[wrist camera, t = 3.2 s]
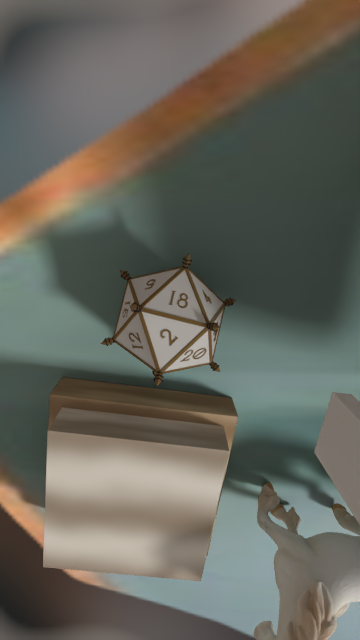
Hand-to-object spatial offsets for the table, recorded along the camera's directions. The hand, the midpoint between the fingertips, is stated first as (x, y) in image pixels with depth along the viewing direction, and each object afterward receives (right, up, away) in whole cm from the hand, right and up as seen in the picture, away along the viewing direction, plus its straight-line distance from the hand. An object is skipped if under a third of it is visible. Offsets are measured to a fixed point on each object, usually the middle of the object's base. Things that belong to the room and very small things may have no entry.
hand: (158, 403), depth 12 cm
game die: (0, +4, +15) cm, 15 cm away
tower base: (-3, -10, +18) cm, 21 cm away
